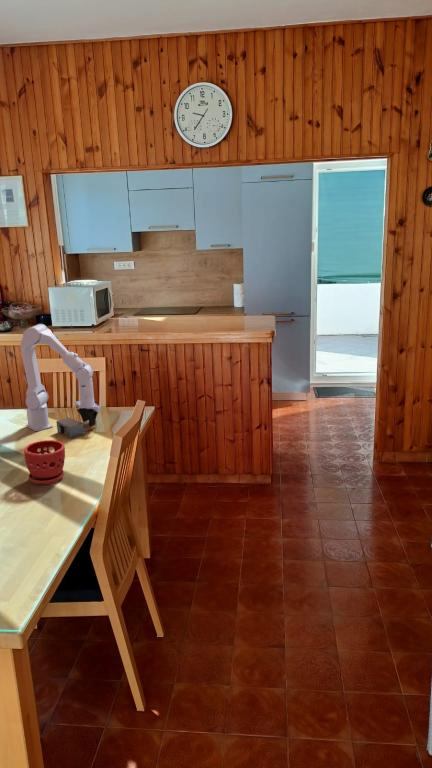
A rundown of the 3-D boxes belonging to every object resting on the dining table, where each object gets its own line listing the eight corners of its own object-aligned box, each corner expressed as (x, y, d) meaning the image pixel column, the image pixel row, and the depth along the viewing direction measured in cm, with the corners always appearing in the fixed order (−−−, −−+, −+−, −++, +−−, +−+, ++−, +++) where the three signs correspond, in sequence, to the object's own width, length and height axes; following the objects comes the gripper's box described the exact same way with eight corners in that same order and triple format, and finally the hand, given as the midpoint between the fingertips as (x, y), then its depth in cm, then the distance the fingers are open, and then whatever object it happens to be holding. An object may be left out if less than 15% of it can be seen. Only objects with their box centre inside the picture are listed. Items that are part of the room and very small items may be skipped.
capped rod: (64, 435, 243) (64, 428, 242) (92, 425, 253) (91, 419, 252) (69, 436, 241) (68, 429, 240) (96, 427, 251) (96, 420, 250)
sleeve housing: (57, 432, 246) (56, 421, 245) (70, 428, 250) (69, 417, 249) (70, 438, 238) (69, 427, 237) (83, 434, 242) (82, 423, 241)
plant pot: (27, 490, 193) (23, 456, 190) (28, 474, 206) (24, 442, 203) (68, 484, 197) (64, 450, 194) (67, 469, 209) (63, 437, 206)
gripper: (67, 393, 247) (70, 424, 251) (90, 399, 239) (93, 430, 242) (81, 389, 253) (84, 419, 256) (103, 394, 244) (106, 426, 248)
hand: (89, 425), depth 250 cm, fingers closed on capped rod, 3 cm apart
